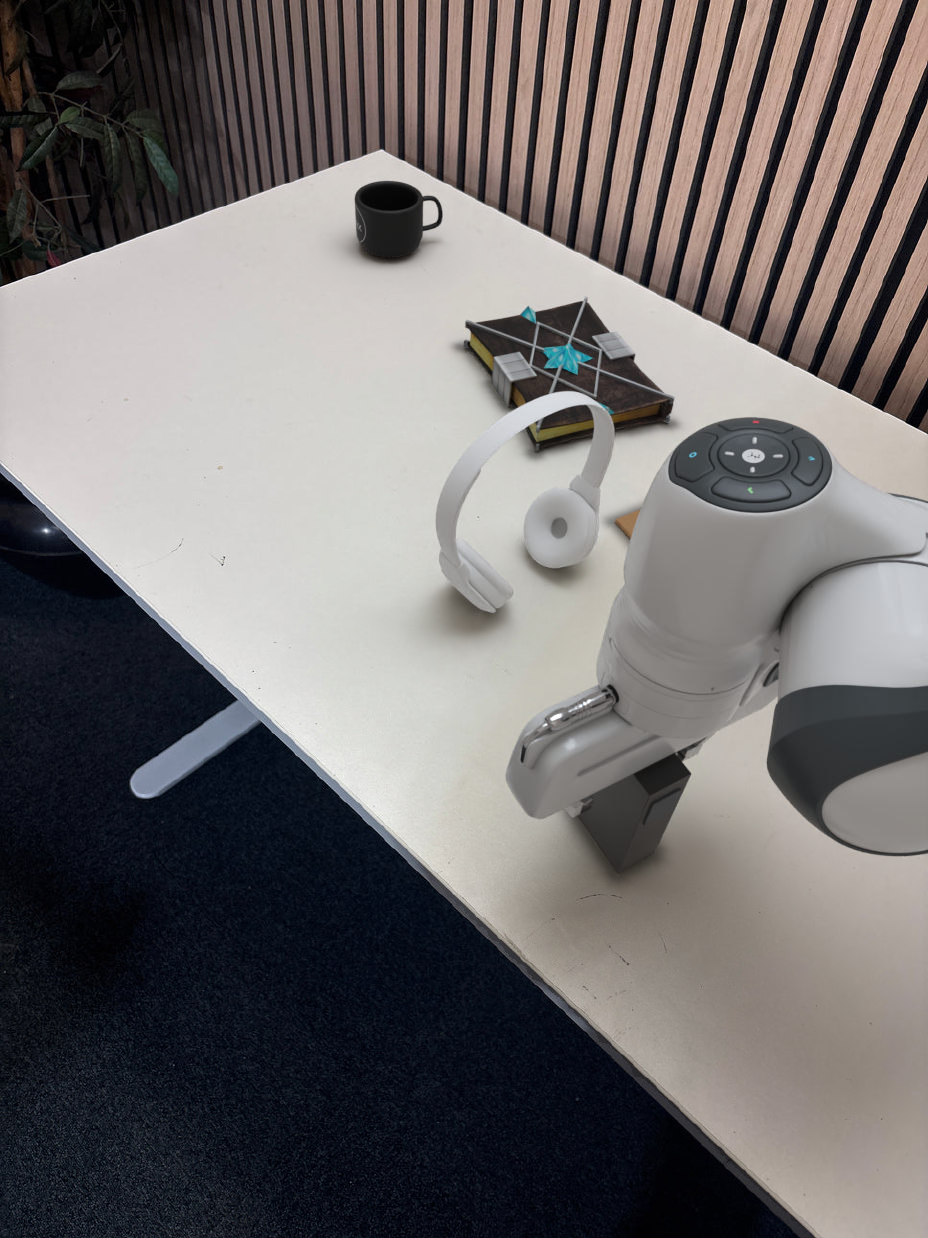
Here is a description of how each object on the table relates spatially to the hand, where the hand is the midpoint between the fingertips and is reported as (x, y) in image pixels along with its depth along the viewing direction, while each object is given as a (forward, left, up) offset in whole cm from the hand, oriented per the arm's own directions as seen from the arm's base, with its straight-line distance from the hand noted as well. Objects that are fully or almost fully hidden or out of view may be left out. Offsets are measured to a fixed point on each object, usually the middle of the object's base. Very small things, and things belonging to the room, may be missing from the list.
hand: (629, 777), depth 65 cm
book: (+50, -28, -8) cm, 58 cm away
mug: (+86, -25, -8) cm, 90 cm away
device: (0, 0, -8) cm, 8 cm away
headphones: (+26, -7, -8) cm, 28 cm away
